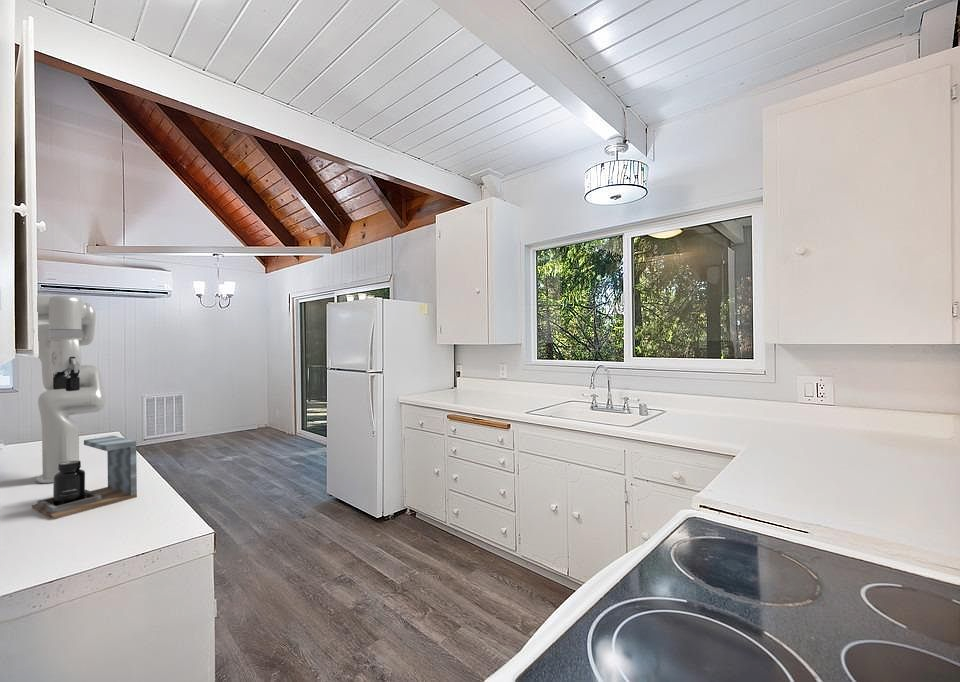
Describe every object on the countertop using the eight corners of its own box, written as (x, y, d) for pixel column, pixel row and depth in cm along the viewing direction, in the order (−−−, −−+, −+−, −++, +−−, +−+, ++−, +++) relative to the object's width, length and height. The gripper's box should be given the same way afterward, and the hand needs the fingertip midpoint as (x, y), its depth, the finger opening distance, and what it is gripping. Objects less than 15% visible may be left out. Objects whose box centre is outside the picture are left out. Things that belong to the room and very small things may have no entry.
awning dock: (32, 508, 129) (31, 448, 129) (113, 488, 146) (112, 435, 146) (53, 519, 121) (52, 455, 121) (136, 497, 138) (136, 440, 138)
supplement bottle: (65, 508, 126) (65, 466, 126) (47, 506, 128) (46, 465, 128) (91, 499, 133) (90, 459, 133) (73, 498, 134) (72, 458, 134)
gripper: (39, 335, 140) (39, 389, 140) (60, 335, 132) (61, 392, 132) (70, 335, 147) (70, 387, 147) (92, 335, 138) (93, 390, 138)
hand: (66, 389), depth 139 cm, fingers open, 9 cm apart
